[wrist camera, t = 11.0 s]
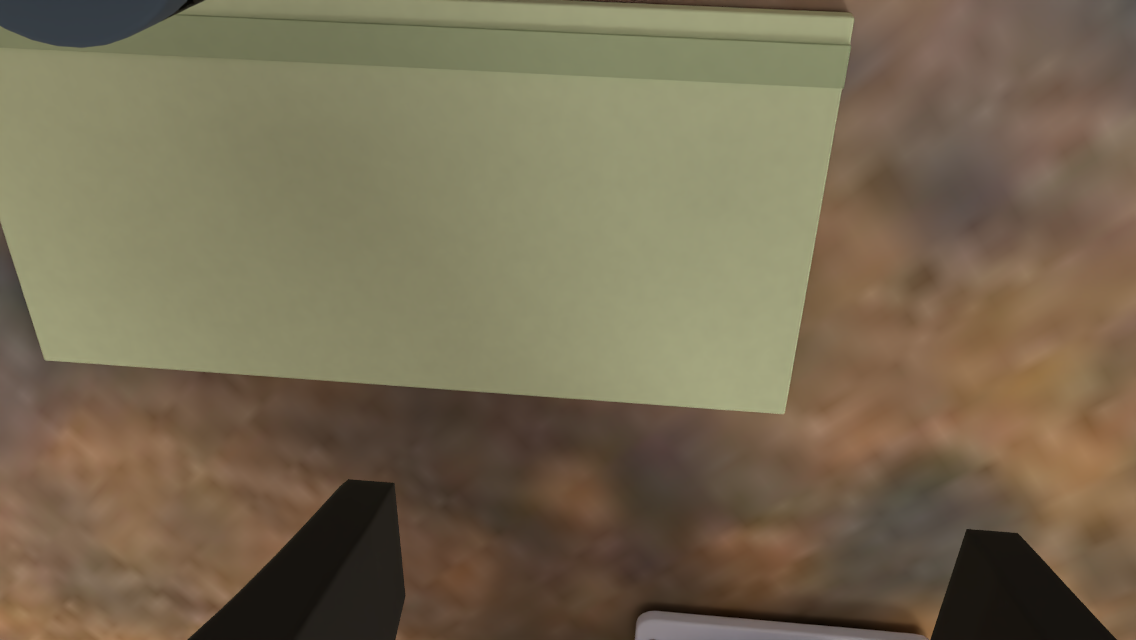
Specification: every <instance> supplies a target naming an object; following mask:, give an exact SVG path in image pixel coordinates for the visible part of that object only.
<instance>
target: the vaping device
mask: <svg viewBox="0 0 1136 640" xmlns="http://www.w3.org/2000/svg"><path fill="white" fill-rule="evenodd" d="M203 1H205V0H0V26H1V27H3V28H5V29H6V30H9V31H11V32H14V33H16V34H19V35H21V36H23V37H26V38H28V39H31V40H34V41H38V42H42V43H46V44H50V45H54V46H62V47H77V48H86V47H94V46H102V45H108V44H111V43H114V42H116V41H119V40H122V39H125V38H128V37H130V36H132V35H134V34H136V33H139V32H141V31H143V30H145V29H147V28H149V27H151V26H153V25H155V24H157V23H159V22H161V21H162V20H165V19H167V18H170V17H172V16H174V15H176V14H178V13H180V12H182V11H184V10H185V9H188V8H189V7H192V6H194V5H196V4H198V3H201V2H203ZM187 5H188V6H187Z"/></svg>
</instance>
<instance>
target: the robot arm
mask: <svg viewBox="0 0 1136 640" xmlns="http://www.w3.org/2000/svg"><path fill="white" fill-rule="evenodd" d="M404 599H405V588H404V577H403V567H402V557H401V546H400V536H399V525H398V515H397V505H396V494H395V484H394V483H387V482H374V481H362V480H349V479H348V480H347V481H346V482H345V483H343V484H342V485H341V486H340V487H339V488H338V489H337V490H336V491H335V492H334V493H333V495H332V496H331V497H330V498H329V499H328V500H327V501H326V502H325V503H324V504H323V505H322V507H321V508H320V509H319V510H318V511H317V512H316V513H315V514H314V515H313V516H312V517H311V518H310V520H309V521H308V522H307V523H306V524H305V525H304V526H303V527H302V528H301V529H300V530H299V531H298V532H297V533H296V535H295V536H294V537H293V538H292V539H291V540H290V541H289V542H288V543H287V544H286V545H285V546H284V547H283V548H282V549H281V550H280V551H279V552H278V553H277V554H276V556H275V557H274V558H273V559H272V560H271V561H270V562H269V563H268V564H267V565H266V566H265V567H264V568H263V569H262V570H261V571H260V572H259V573H258V574H257V575H256V576H255V577H254V578H253V579H252V580H251V581H250V582H249V583H248V584H247V585H246V586H245V587H244V588H243V589H242V590H240V591H239V592H238V593H237V594H236V595H235V596H234V597H233V598H232V599H231V600H230V601H229V602H228V603H227V604H226V605H225V606H224V607H223V608H222V609H221V610H220V611H218V612H217V613H216V614H215V615H214V616H213V617H212V618H211V619H210V620H209V621H207V622H206V623H205V624H204V625H203V626H202V627H201V628H200V629H199V630H198V631H197V632H195V633H194V634H193V635H192V636H191V637H190V638H189V639H188V640H395V638H396V634H397V630H398V625H399V621H400V617H401V612H402V608H403V604H404ZM652 639H654V640H929V639H928V638H926V637H925V636H923V635H919V634H913V633H901V632H890V631H879V630H867V629H856V628H845V627H834V626H822V625H811V624H800V623H788V622H777V621H766V620H754V619H743V618H732V617H721V616H709V615H698V614H687V613H675V612H664V611H648V612H645V613H642V614H641V615H640V616H639V617H638V619H637V622H636V632H635V640H652ZM931 640H1117V639H1116V638H1115V637H1114V636H1113V635H1112V634H1111V633H1110V632H1109V631H1108V630H1107V629H1106V628H1105V627H1104V626H1103V625H1102V624H1101V623H1100V621H1099V620H1098V619H1097V618H1096V617H1095V616H1094V615H1093V614H1092V613H1091V612H1090V611H1089V610H1088V608H1087V607H1086V606H1085V605H1084V604H1083V603H1082V602H1081V601H1080V600H1079V599H1078V598H1077V597H1076V596H1075V594H1074V593H1073V592H1072V591H1071V590H1070V589H1069V588H1068V587H1067V586H1066V585H1065V584H1064V582H1063V581H1062V580H1061V579H1060V578H1059V577H1058V576H1057V575H1056V574H1055V573H1054V572H1053V570H1052V569H1051V568H1050V567H1049V566H1048V565H1047V564H1046V563H1045V562H1044V561H1043V560H1042V559H1041V557H1040V556H1039V555H1038V554H1037V553H1036V552H1035V551H1034V550H1033V549H1032V548H1031V547H1030V546H1029V545H1028V544H1027V542H1026V541H1025V540H1024V539H1023V538H1022V537H1021V536H1020V535H1019V534H1018V533H1009V532H996V531H984V530H971V529H967V530H966V533H965V536H964V539H963V542H962V545H961V548H960V551H959V554H958V557H957V560H956V563H955V566H954V569H953V573H952V576H951V579H950V582H949V585H948V588H947V591H946V594H945V597H944V600H943V603H942V606H941V609H940V612H939V615H938V618H937V621H936V624H935V628H934V631H933V634H932V637H931Z"/></svg>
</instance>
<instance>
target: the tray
mask: <svg viewBox="0 0 1136 640" xmlns="http://www.w3.org/2000/svg"><path fill="white" fill-rule="evenodd" d="M187 6H188V5H187ZM853 24H854V17H853V15H852V14H851V13H849V12H826V11H803V10H780V9H757V8H733V7H710V6H687V5H664V4H641V3H617V2H594V1H571V0H205V1H203V2H201V3H198V4H196V5H194V6H192V7H189V8H188V9H185V10H184V11H182V12H180V13H178V14H176V15H174V16H172V17H170V18H167V19H165V20H162V21H161V22H159V23H157V24H155V25H153V26H151V27H149V28H147V29H145V30H143V31H141V32H139V33H136V34H134V35H132V36H130V37H128V38H125V39H122V40H119V41H116V42H114V43H111V44H108V45H102V46H94V47H86V48H77V47H62V46H54V45H50V44H46V43H42V42H38V41H34V40H31V39H28V38H26V37H23V36H21V35H19V34H16V33H14V32H11V31H9V30H6V29H5V28H3V27H1V26H0V222H1V225H2V228H3V232H4V235H5V238H6V241H7V244H8V247H9V250H10V253H11V257H12V260H13V263H14V266H15V269H16V272H17V275H18V278H19V281H20V285H21V288H22V291H23V294H24V297H25V300H26V303H27V306H28V310H29V313H30V316H31V319H32V322H33V325H34V328H35V331H36V335H37V338H38V341H39V344H40V347H41V350H42V353H43V356H44V359H45V360H50V361H63V362H77V363H91V364H104V365H118V366H132V367H146V368H159V369H173V370H187V371H200V372H214V373H228V374H241V375H255V376H269V377H282V378H296V379H310V380H323V381H337V382H351V383H365V384H378V385H392V386H406V387H419V388H433V389H447V390H460V391H474V392H488V393H501V394H515V395H529V396H542V397H556V398H570V399H584V400H597V401H611V402H625V403H638V404H652V405H666V406H679V407H693V408H707V409H720V410H734V411H748V412H762V413H775V414H784V413H785V409H786V403H787V398H788V392H789V386H790V381H791V375H792V369H793V364H794V358H795V352H796V347H797V341H798V335H799V330H800V324H801V318H802V313H803V307H804V301H805V296H806V290H807V284H808V279H809V273H810V267H811V262H812V256H813V250H814V245H815V239H816V233H817V228H818V222H819V216H820V211H821V205H822V199H823V194H824V188H825V182H826V177H827V171H828V165H829V160H830V154H831V148H832V143H833V137H834V131H835V126H836V120H837V114H838V109H839V103H840V97H841V92H842V89H843V88H844V83H845V78H846V72H847V67H848V61H849V55H850V50H851V45H850V41H851V35H852V29H853Z"/></svg>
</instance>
